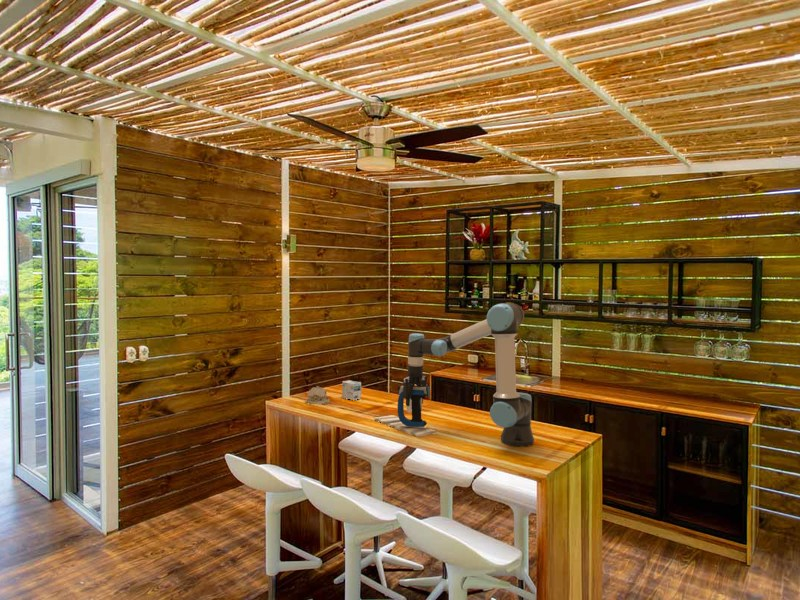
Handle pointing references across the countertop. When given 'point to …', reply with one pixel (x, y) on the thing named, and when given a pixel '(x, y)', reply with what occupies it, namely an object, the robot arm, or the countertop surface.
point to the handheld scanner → (416, 407)
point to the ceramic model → (317, 396)
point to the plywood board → (404, 426)
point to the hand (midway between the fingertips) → (414, 411)
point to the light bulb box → (351, 390)
